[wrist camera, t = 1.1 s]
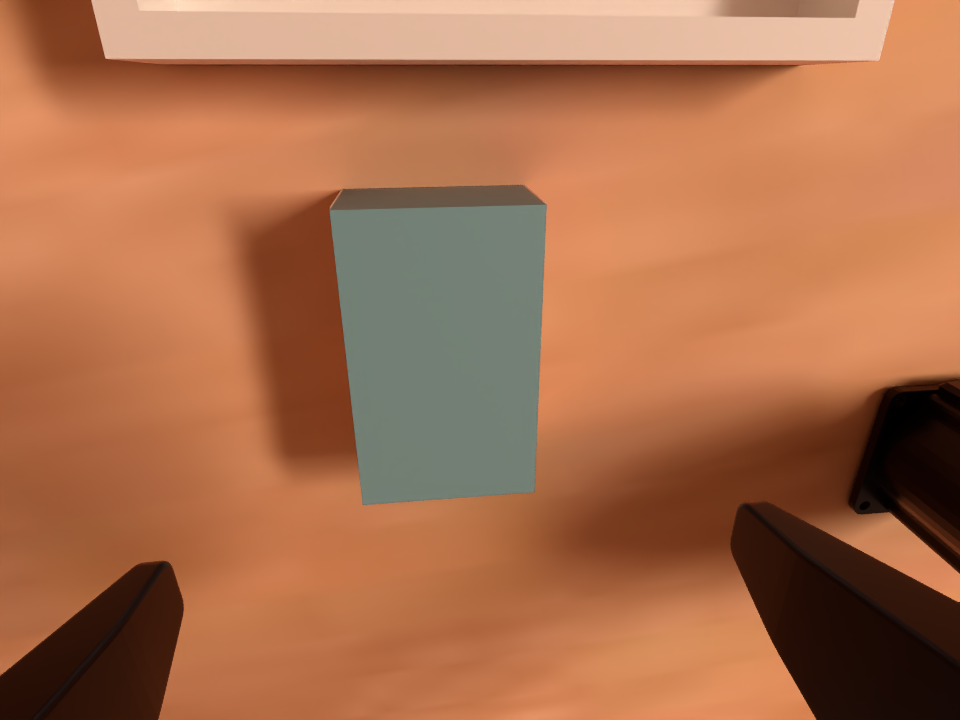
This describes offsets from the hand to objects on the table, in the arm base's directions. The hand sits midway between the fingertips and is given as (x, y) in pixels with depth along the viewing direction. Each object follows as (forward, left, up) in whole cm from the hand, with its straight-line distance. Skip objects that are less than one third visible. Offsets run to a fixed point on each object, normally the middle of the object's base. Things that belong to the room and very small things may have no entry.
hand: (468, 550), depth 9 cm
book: (-1, 0, -13) cm, 13 cm away
